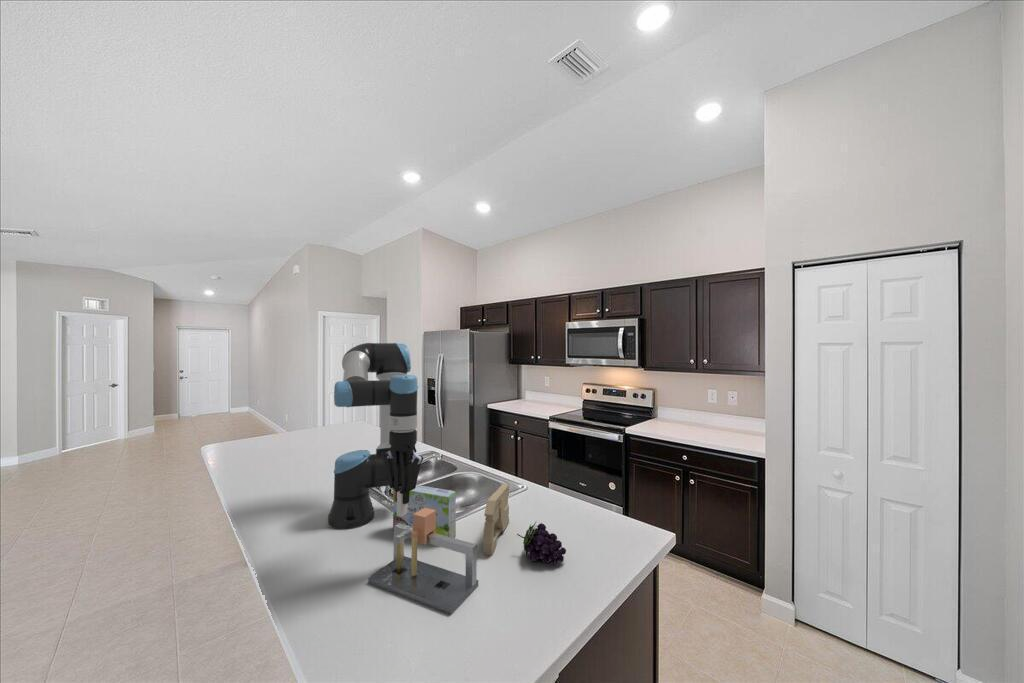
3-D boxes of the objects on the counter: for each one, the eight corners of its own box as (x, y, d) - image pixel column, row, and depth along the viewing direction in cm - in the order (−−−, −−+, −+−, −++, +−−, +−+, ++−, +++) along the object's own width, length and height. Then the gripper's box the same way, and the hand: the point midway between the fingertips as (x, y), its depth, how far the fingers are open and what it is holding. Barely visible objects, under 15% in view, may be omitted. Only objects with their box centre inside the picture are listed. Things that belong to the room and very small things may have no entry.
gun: (492, 558, 110) (493, 504, 112) (481, 556, 111) (482, 503, 112) (509, 527, 134) (510, 483, 135) (500, 526, 134) (501, 483, 136)
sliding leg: (406, 573, 99) (407, 517, 99) (423, 560, 105) (424, 507, 106) (418, 577, 97) (419, 520, 98) (435, 564, 104) (436, 510, 104)
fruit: (557, 581, 104) (507, 559, 109) (565, 555, 114) (519, 536, 118) (566, 550, 102) (514, 528, 106) (572, 526, 112) (525, 507, 116)
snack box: (391, 533, 125) (392, 487, 125) (401, 525, 130) (402, 481, 130) (447, 545, 117) (448, 496, 118) (456, 536, 123) (457, 489, 123)
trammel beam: (383, 571, 102) (383, 531, 103) (398, 560, 108) (398, 523, 108) (463, 599, 91) (464, 555, 91) (476, 586, 96) (476, 544, 96)
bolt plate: (368, 583, 98) (368, 577, 98) (400, 560, 109) (400, 555, 109) (450, 615, 86) (451, 608, 86) (478, 585, 97) (478, 580, 97)
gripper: (376, 430, 106) (374, 515, 105) (412, 434, 100) (411, 524, 100) (395, 425, 113) (394, 505, 112) (430, 429, 107) (429, 513, 106)
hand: (402, 514), depth 106 cm, fingers closed
